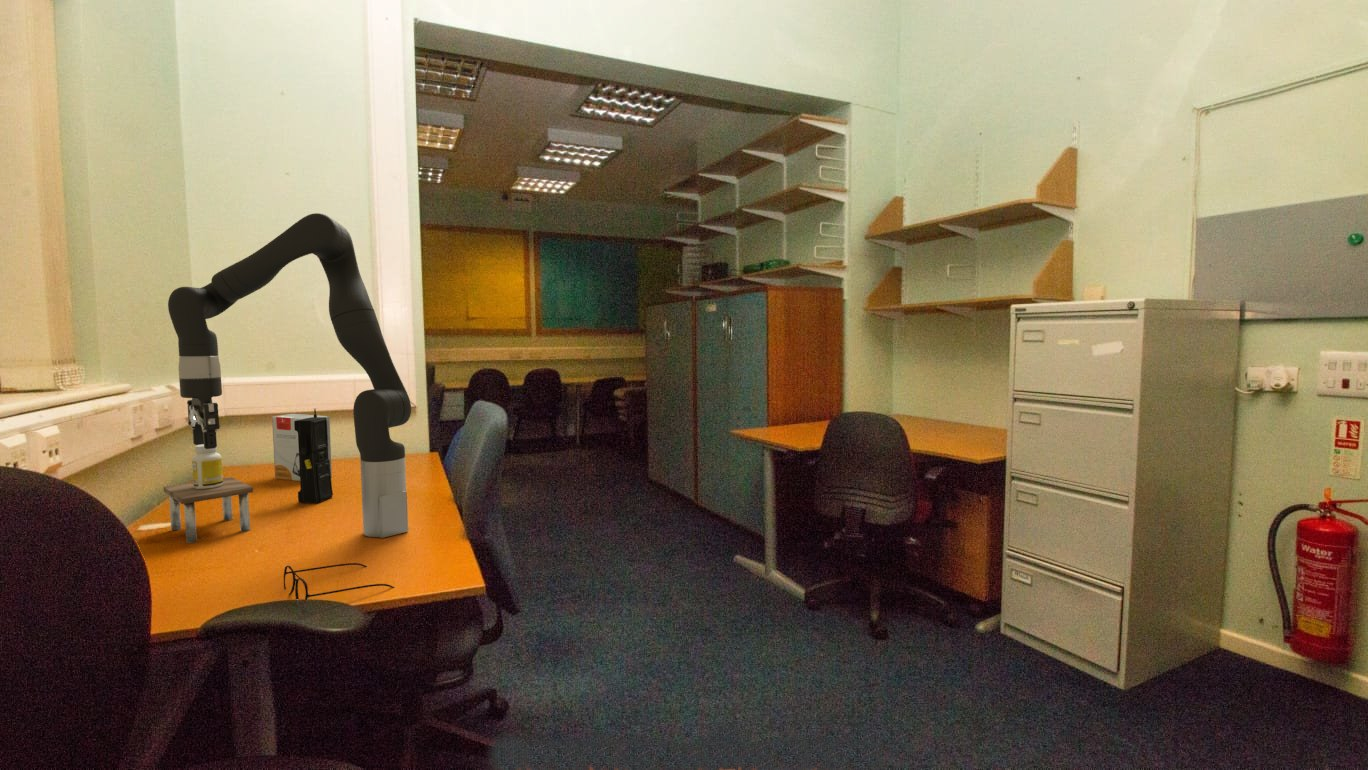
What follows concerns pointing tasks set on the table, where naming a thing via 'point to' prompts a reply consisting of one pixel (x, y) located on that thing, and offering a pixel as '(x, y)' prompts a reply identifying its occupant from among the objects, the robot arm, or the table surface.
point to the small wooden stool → (190, 495)
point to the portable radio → (313, 460)
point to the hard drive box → (290, 446)
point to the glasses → (325, 592)
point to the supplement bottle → (207, 468)
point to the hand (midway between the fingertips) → (205, 446)
